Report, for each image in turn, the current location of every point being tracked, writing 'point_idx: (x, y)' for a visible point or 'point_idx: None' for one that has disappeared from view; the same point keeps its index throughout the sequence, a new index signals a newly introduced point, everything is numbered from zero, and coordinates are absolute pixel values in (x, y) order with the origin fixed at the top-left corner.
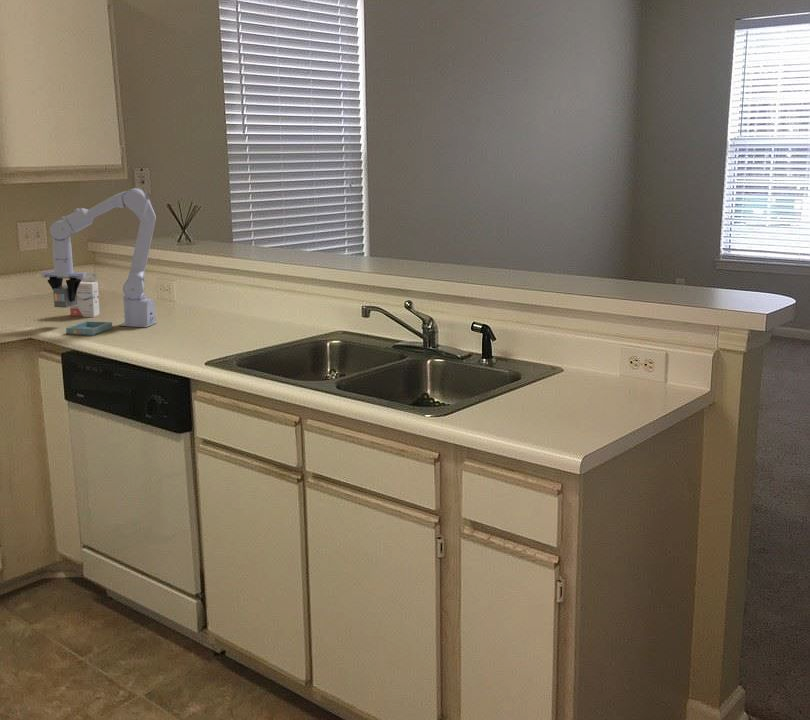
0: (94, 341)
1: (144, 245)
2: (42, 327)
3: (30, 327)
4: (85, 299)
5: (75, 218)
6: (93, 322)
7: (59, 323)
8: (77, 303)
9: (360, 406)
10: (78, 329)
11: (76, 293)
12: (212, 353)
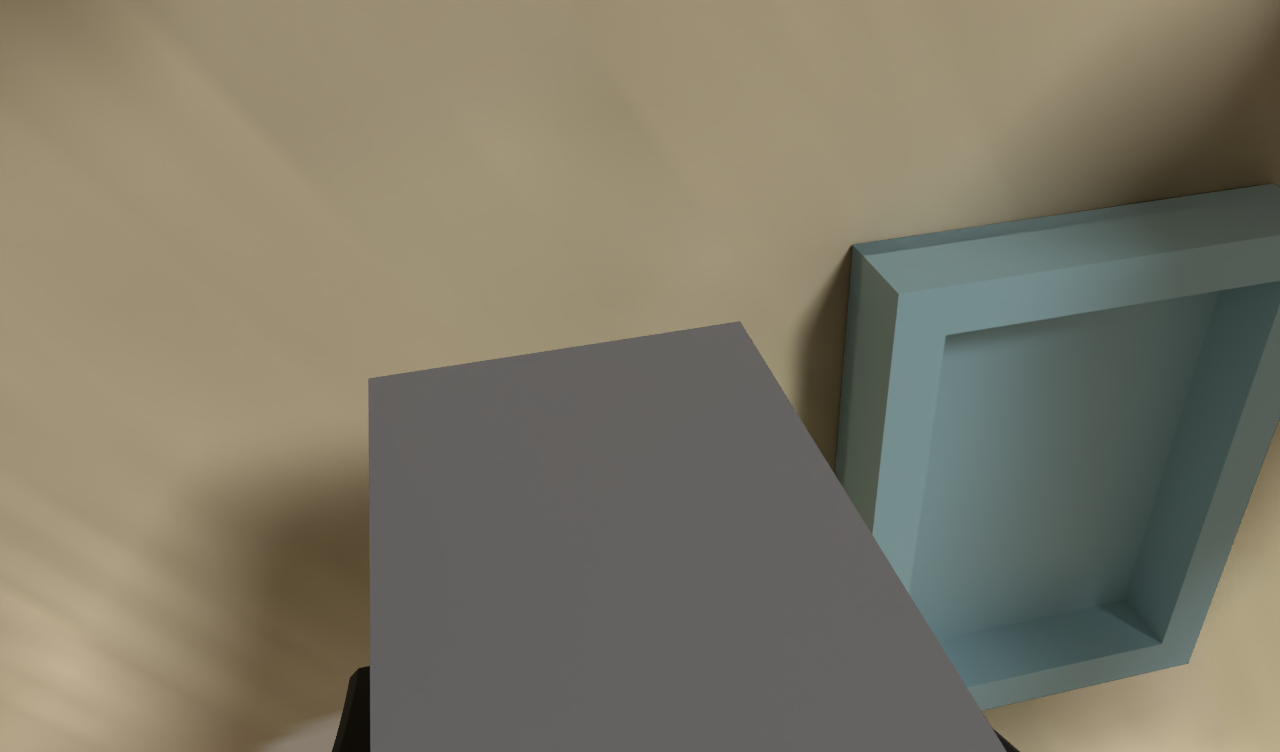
0: (1212, 736)
1: None
2: (192, 544)
3: (8, 618)
4: None
5: None
6: (1046, 312)
7: (165, 172)
8: (744, 335)
9: None
10: (1007, 695)
11: (870, 557)
12: None
